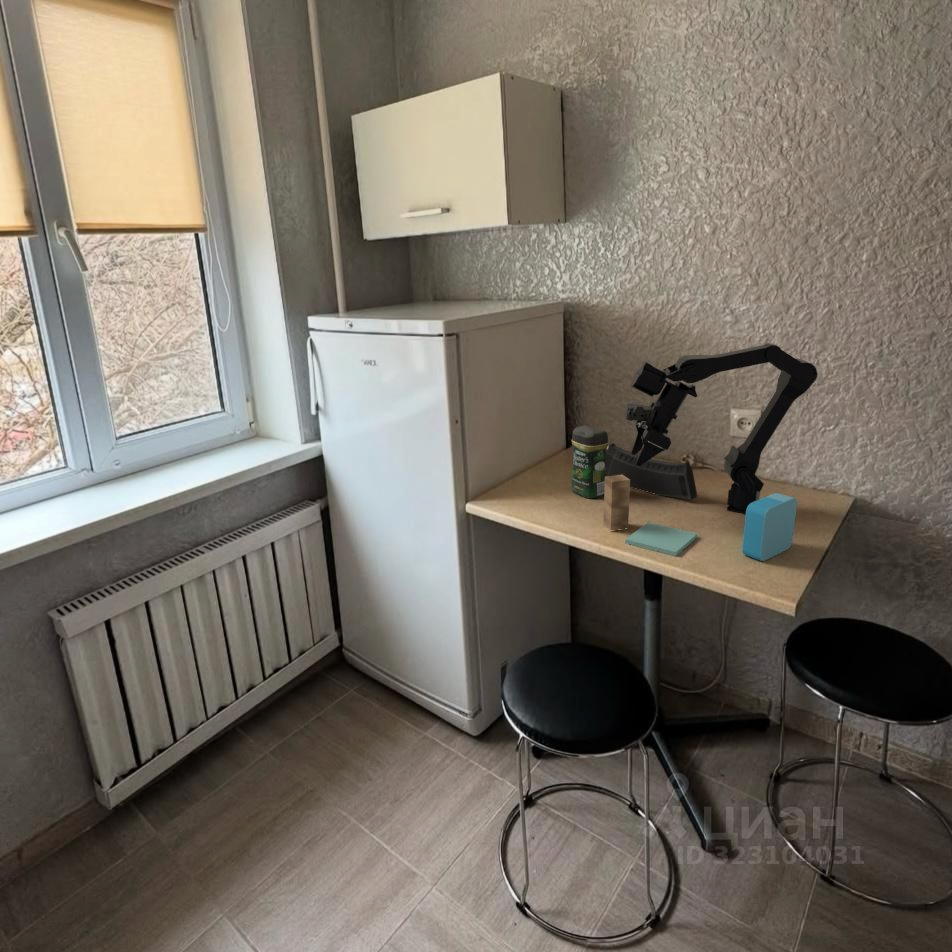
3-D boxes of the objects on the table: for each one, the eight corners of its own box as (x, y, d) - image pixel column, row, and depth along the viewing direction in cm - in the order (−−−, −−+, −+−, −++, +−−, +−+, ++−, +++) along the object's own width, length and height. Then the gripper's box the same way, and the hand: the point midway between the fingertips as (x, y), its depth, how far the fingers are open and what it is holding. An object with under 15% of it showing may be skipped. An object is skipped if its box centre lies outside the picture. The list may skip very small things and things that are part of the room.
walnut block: (620, 523, 160) (622, 474, 156) (628, 529, 156) (630, 479, 152) (603, 525, 159) (604, 476, 155) (610, 531, 155) (612, 481, 151)
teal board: (697, 537, 150) (697, 533, 150) (675, 556, 142) (676, 552, 141) (648, 525, 158) (648, 522, 157) (625, 543, 149) (625, 539, 149)
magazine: (708, 470, 167) (616, 419, 185) (702, 473, 165) (609, 422, 183) (686, 524, 176) (600, 471, 194) (680, 528, 174) (594, 474, 192)
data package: (772, 541, 147) (778, 491, 143) (792, 547, 144) (798, 496, 140) (740, 556, 141) (746, 504, 137) (760, 563, 137) (766, 510, 133)
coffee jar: (566, 491, 182) (566, 426, 176) (588, 485, 186) (589, 421, 180) (589, 501, 175) (590, 433, 169) (611, 495, 178) (613, 428, 172)
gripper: (633, 382, 167) (603, 435, 173) (643, 398, 150) (609, 456, 155) (672, 402, 168) (641, 454, 173) (686, 419, 150) (651, 477, 156)
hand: (635, 459), depth 164 cm, fingers open, 9 cm apart
